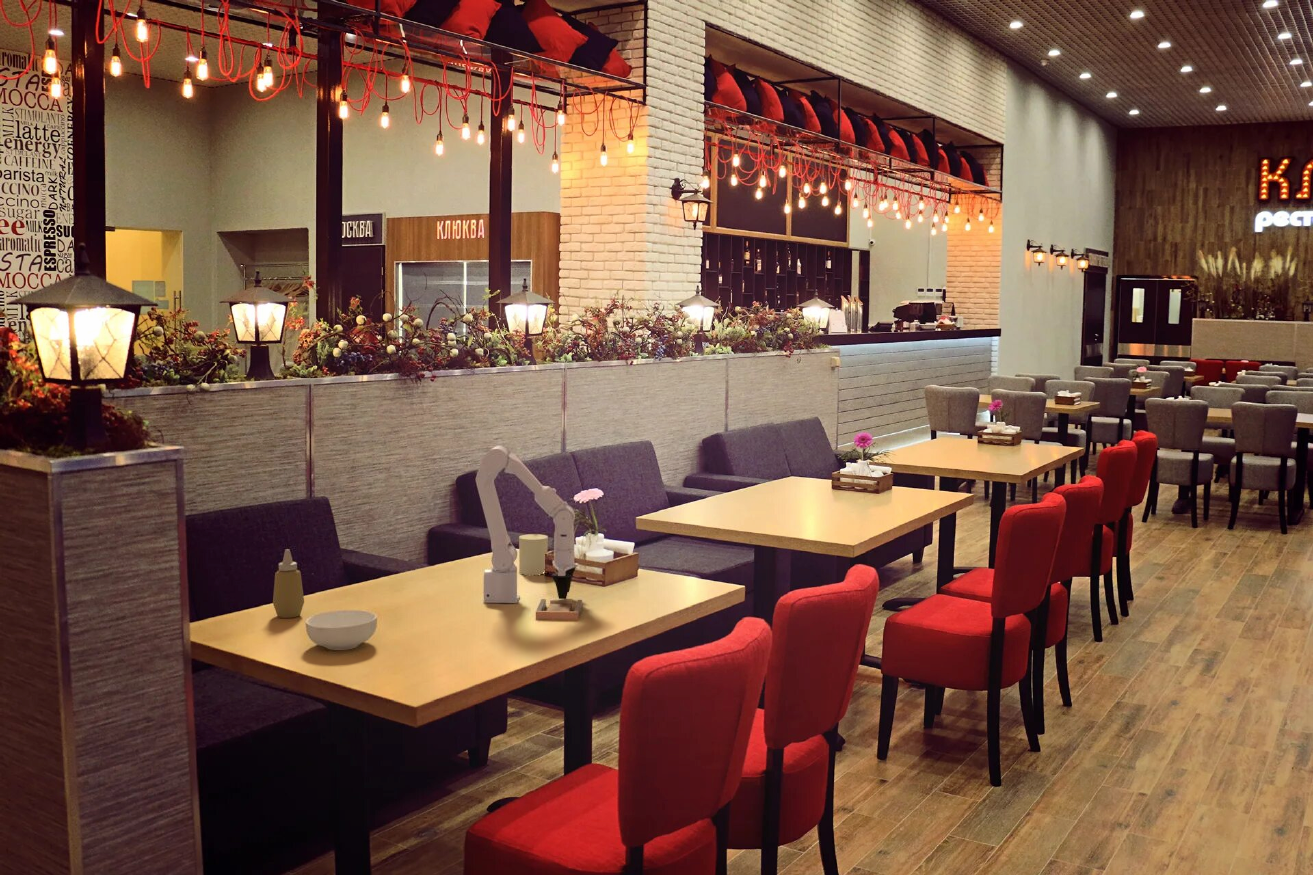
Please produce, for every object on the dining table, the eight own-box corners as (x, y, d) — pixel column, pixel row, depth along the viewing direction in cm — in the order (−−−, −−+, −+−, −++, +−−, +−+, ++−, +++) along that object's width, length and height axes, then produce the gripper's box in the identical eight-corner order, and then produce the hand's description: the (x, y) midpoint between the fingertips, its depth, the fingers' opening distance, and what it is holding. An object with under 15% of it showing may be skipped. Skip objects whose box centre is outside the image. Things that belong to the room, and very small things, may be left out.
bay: (535, 618, 312) (535, 611, 312) (541, 605, 326) (541, 598, 326) (578, 619, 312) (578, 612, 312) (582, 606, 326) (582, 599, 326)
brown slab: (546, 617, 315) (546, 608, 314) (550, 607, 325) (550, 599, 324) (568, 617, 315) (568, 608, 314) (571, 608, 324) (571, 599, 324)
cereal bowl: (350, 632, 297) (350, 605, 296) (391, 645, 286) (391, 616, 286) (292, 646, 284) (291, 618, 283) (332, 660, 273) (332, 630, 273)
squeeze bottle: (295, 620, 308) (293, 553, 306) (267, 618, 309) (265, 551, 307) (310, 612, 315) (308, 547, 313) (282, 610, 317) (281, 546, 315)
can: (550, 569, 372) (550, 533, 371) (544, 576, 363) (545, 538, 362) (522, 568, 373) (522, 532, 372) (515, 575, 364) (515, 537, 363)
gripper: (575, 553, 324) (575, 601, 325) (580, 543, 338) (580, 589, 340) (550, 553, 324) (550, 601, 325) (556, 543, 338) (556, 589, 340)
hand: (563, 595), depth 332 cm, fingers open, 7 cm apart
